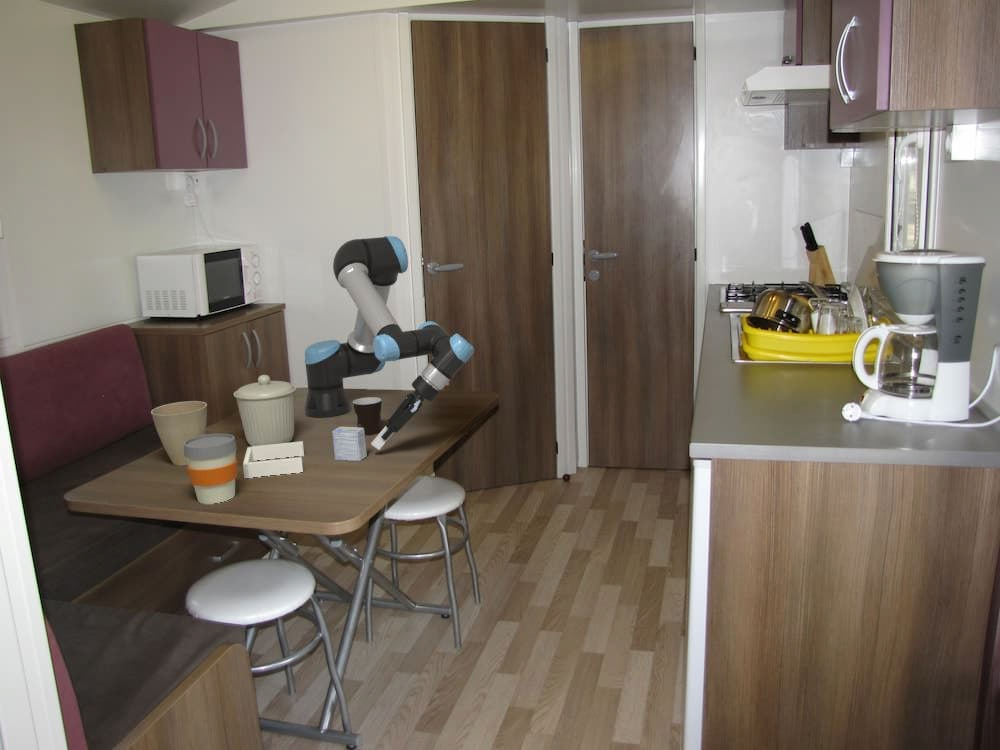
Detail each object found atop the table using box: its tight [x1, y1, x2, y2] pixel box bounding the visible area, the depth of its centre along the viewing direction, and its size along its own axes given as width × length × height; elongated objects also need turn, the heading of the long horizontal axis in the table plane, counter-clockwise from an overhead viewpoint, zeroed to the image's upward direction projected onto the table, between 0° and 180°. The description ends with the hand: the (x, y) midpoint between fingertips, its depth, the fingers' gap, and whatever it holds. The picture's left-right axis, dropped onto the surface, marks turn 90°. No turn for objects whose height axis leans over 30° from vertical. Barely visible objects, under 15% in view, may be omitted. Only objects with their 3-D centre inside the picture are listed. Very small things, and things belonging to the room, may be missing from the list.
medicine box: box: [331, 426, 368, 462], centre depth 253 cm, size 8×4×9 cm, turn 71°
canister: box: [233, 374, 297, 447], centre depth 269 cm, size 18×18×21 cm
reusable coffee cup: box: [184, 432, 238, 505], centre depth 226 cm, size 13×13×15 cm
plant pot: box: [150, 400, 208, 467], centre depth 256 cm, size 15×15×16 cm
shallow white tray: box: [242, 440, 305, 479], centre depth 250 cm, size 16×15×4 cm
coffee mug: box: [352, 396, 382, 436], centre depth 279 cm, size 12×9×10 cm
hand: (375, 446), depth 254 cm, fingers closed
